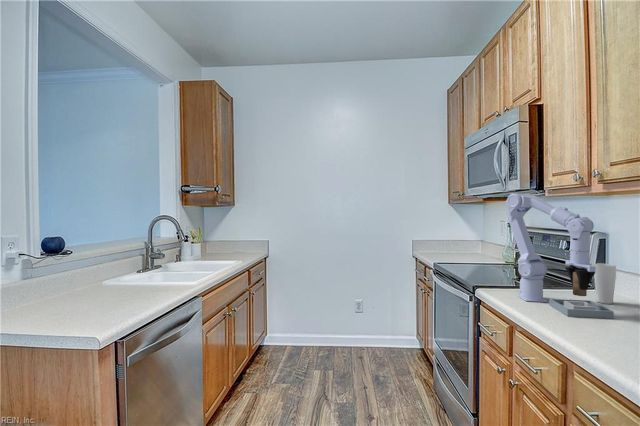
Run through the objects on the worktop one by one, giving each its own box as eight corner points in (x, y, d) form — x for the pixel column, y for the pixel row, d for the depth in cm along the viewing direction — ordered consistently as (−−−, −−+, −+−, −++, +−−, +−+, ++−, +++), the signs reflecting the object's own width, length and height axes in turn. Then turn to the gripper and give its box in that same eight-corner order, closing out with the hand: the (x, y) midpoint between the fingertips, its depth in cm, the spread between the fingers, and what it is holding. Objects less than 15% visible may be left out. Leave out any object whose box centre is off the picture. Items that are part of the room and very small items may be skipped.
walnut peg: (570, 293, 129) (570, 271, 129) (582, 293, 128) (582, 271, 128) (577, 296, 125) (577, 273, 125) (589, 296, 125) (589, 273, 124)
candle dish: (549, 305, 135) (549, 298, 135) (590, 307, 132) (590, 299, 132) (567, 316, 121) (567, 308, 121) (613, 318, 119) (613, 310, 119)
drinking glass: (589, 301, 140) (590, 264, 140) (600, 299, 143) (601, 263, 143) (608, 305, 134) (609, 266, 134) (619, 303, 137) (620, 265, 136)
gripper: (557, 248, 134) (556, 283, 134) (580, 253, 120) (579, 292, 120) (577, 248, 133) (576, 283, 133) (602, 253, 119) (602, 293, 119)
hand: (579, 288), depth 127 cm, fingers closed on walnut peg, 4 cm apart
